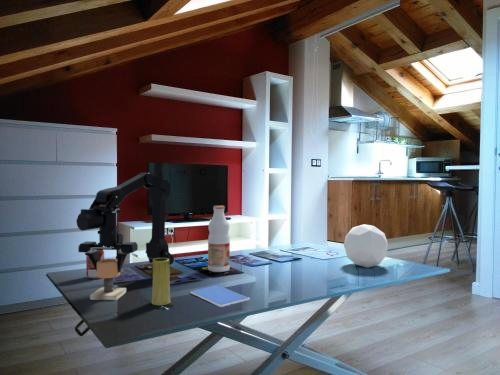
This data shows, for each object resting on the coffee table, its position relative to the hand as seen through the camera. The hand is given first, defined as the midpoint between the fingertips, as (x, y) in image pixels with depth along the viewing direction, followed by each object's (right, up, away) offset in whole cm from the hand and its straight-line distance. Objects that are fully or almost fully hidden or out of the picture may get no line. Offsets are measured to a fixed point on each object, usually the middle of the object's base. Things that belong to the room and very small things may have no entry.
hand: (108, 272), depth 137 cm
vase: (+20, -9, -7) cm, 23 cm away
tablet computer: (+38, -9, 0) cm, 39 cm away
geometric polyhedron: (+102, -7, +46) cm, 112 cm away
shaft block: (0, -8, 0) cm, 8 cm away
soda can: (-14, -8, +24) cm, 29 cm away
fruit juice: (+35, -7, +37) cm, 52 cm away
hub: (0, -1, 0) cm, 1 cm away
